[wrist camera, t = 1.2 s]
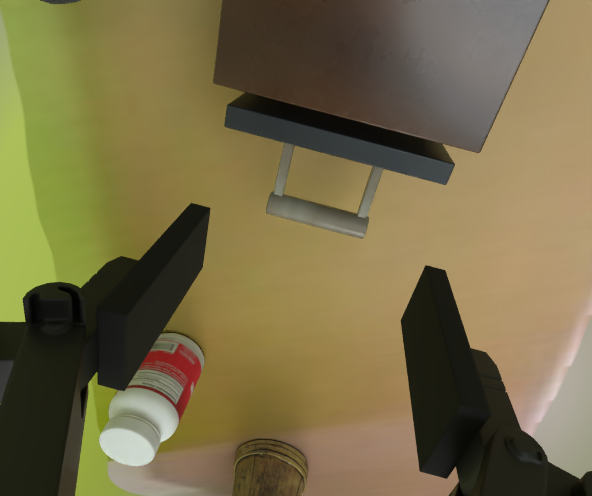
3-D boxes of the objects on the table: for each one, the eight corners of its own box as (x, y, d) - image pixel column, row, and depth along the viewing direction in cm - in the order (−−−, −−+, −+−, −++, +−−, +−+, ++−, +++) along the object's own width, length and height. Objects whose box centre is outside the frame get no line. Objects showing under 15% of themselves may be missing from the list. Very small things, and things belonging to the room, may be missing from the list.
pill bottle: (181, 383, 46) (134, 481, 37) (137, 349, 44) (75, 441, 35) (218, 358, 44) (177, 455, 34) (172, 320, 42) (116, 411, 32)
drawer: (397, 216, 32) (408, 274, 25) (244, 175, 33) (210, 222, 25) (523, -112, 23) (601, -173, 15) (303, -169, 23) (275, -256, 15)
